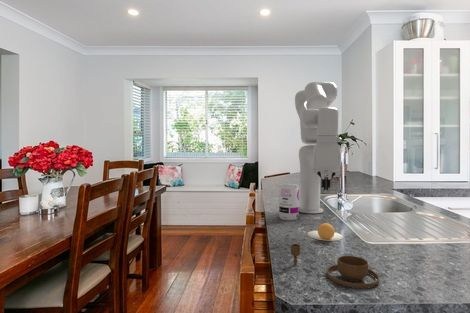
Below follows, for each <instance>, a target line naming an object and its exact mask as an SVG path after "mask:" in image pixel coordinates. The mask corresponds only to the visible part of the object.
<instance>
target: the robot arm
mask: <svg viewBox="0 0 470 313" xmlns="http://www.w3.org/2000/svg"><path fill="white" fill-rule="evenodd" d="M337 96H338V87H337V85H336V83H334V82H331V81H312V82H309V83H307V85H305V87H304V90H299V91H298V92H296V94H295V95H294V105H295V110H296V113H297V115H298V118H299V125H300V127H299V128H300V140H301V142H302V143H303V144H304V145H303V146H301V147H300V148H299V150H298V159H299V168H300V169H299V211H298V213H303V214H321V213H323V212H324V209H323V208H321V207H320V206H321V188H323V191H329V188H331V179H332V178H334V177H335V176H340V175H342V169H341V167H342V158H341V157H342V156H341V155H342V154H341V145H340V144H338V143H340V142H343V138H341V137H339V109H337V107H332V106H331V105H332V103H333V102H334V101H335V100H336V99H337ZM325 172H328V173H327V177H326V176H325Z"/></svg>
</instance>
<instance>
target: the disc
mask: <svg viewBox="0 0 470 313" xmlns="http://www.w3.org/2000/svg"><path fill="white" fill-rule="evenodd" d="M307 236H308V237H309V238H312V239H314V240H318V241H325V242H326V241H327V242H331V241H332V242H334V241H337V242H338V241H340V240H343V238H344V235H342V234H340V232H339V233H338V232H335V233H334V236H333V237H332V238H331V239H329V240H324V239H322V238H321V237H320V236H319V235H318V230H311V231H308V232H307Z"/></svg>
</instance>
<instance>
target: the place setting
mask: <svg viewBox="0 0 470 313" xmlns="http://www.w3.org/2000/svg"><path fill="white" fill-rule="evenodd" d="M290 254H291V256H293V260H292V261H293V266H294V267H297V266H298V257H299V256H300V255H301V245H300V244H299V243H291V244H290ZM368 268H369V262H368V261H367V260H366V259H365V258H362V257H359V256H355V255H353V256H352V255H342V256H339V257H338V258H337V263H336V264H333V265H331V266H329V267H327V268H326V275H327V277H328V278H329V280H330V281H332V282H333V283H335V284H338V285H340V286H343V287H346V286H347V288H351V287H353V288H352V289H360V288H364V289H369V288H368V287H372V288H374V287H376V286H378V284H379V283H380V275H378V274H379V273H378V272H376V273H375V271H374V270H372V269H371V268H370V269H371V270H370V269H368ZM334 271H338V273H339V274H340V275H341V276H342V277H343V278H344V279H345V280H347V281H345V280H343V279H339V278H337V277H335V276H332V275H331V274H332V273H333V272H334ZM367 273H369V274H371V275H373V276H374V277H375V278H376V279H377V281H373V282H369V283H368V282H367V283H355V282H360V281H361V280H362V279H365V278H366V277H367V275H368V274H367ZM377 273H378V274H377ZM306 276H307V277H308V278H309V277H312V276H313V275H312V274H307V275H306ZM349 280H351V281H349ZM359 280H360V281H359ZM375 285H376V286H375ZM373 286H374V287H373Z"/></svg>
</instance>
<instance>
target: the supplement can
mask: <svg viewBox="0 0 470 313" xmlns="http://www.w3.org/2000/svg"><path fill="white" fill-rule="evenodd" d="M278 201H279V202H278V203H279V204H278V208H279V209H278V217H279V218H280V219H281V220H283V221H292V222H293V221H297V220H298V219H299V212H298V211H299V207H300V186H299V185H298V183H294V182H282V183H280V186H279V199H278Z"/></svg>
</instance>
